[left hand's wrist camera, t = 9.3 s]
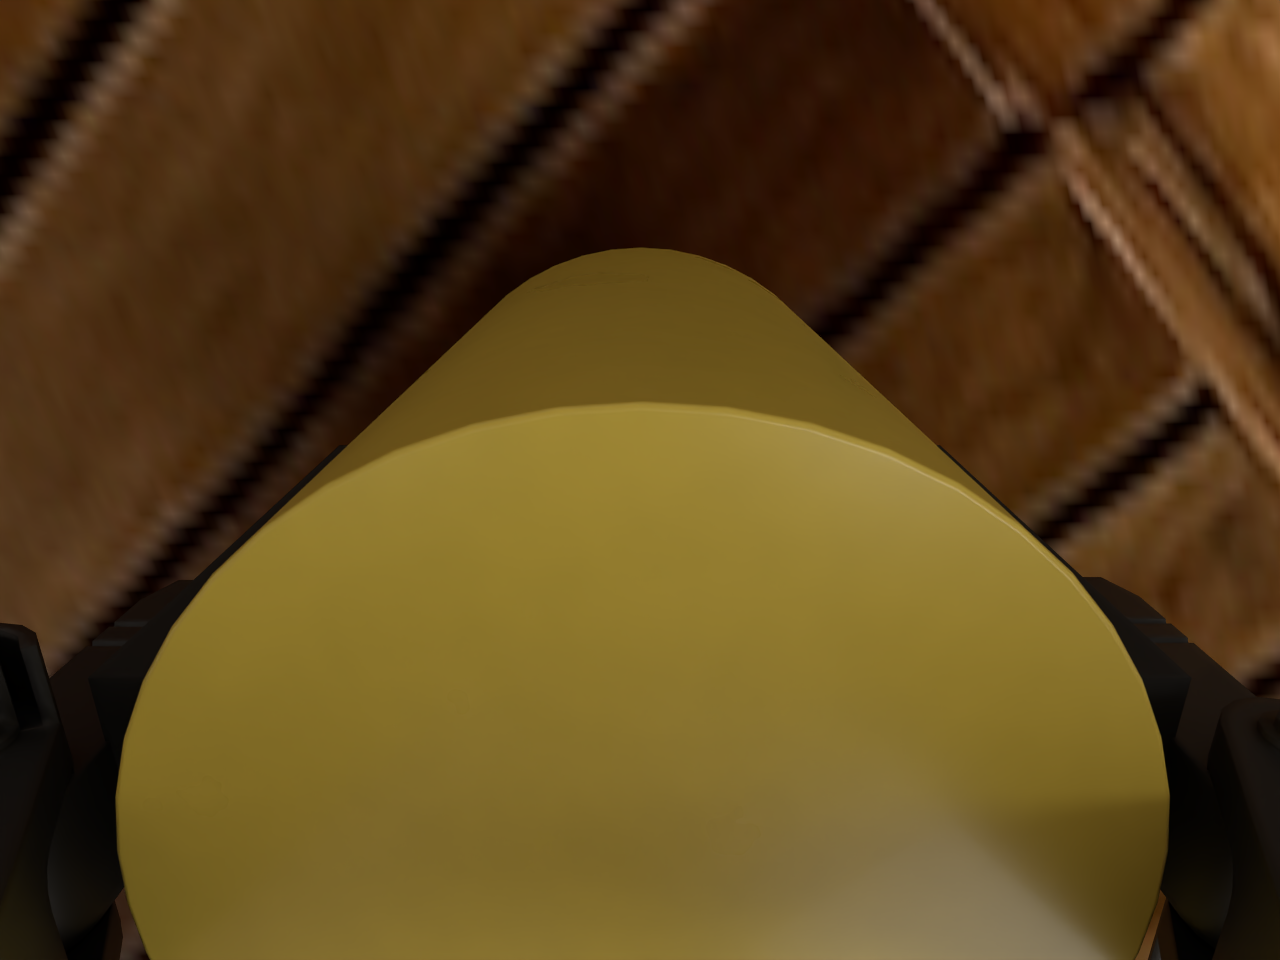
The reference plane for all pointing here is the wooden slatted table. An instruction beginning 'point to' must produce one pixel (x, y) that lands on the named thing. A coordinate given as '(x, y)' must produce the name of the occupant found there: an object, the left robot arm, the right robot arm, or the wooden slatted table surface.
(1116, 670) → the canister
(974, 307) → the wooden slatted table surface
